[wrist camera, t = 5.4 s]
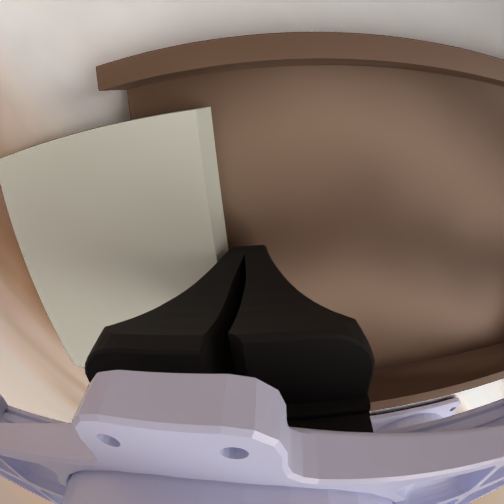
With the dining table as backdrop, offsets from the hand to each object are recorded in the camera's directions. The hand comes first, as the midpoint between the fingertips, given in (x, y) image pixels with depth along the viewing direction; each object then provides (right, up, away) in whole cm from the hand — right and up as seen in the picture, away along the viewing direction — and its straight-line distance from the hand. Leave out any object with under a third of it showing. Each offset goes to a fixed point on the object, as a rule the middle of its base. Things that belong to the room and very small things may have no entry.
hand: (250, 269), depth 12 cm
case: (+5, +1, +1) cm, 5 cm away
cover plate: (-6, 0, +1) cm, 6 cm away
